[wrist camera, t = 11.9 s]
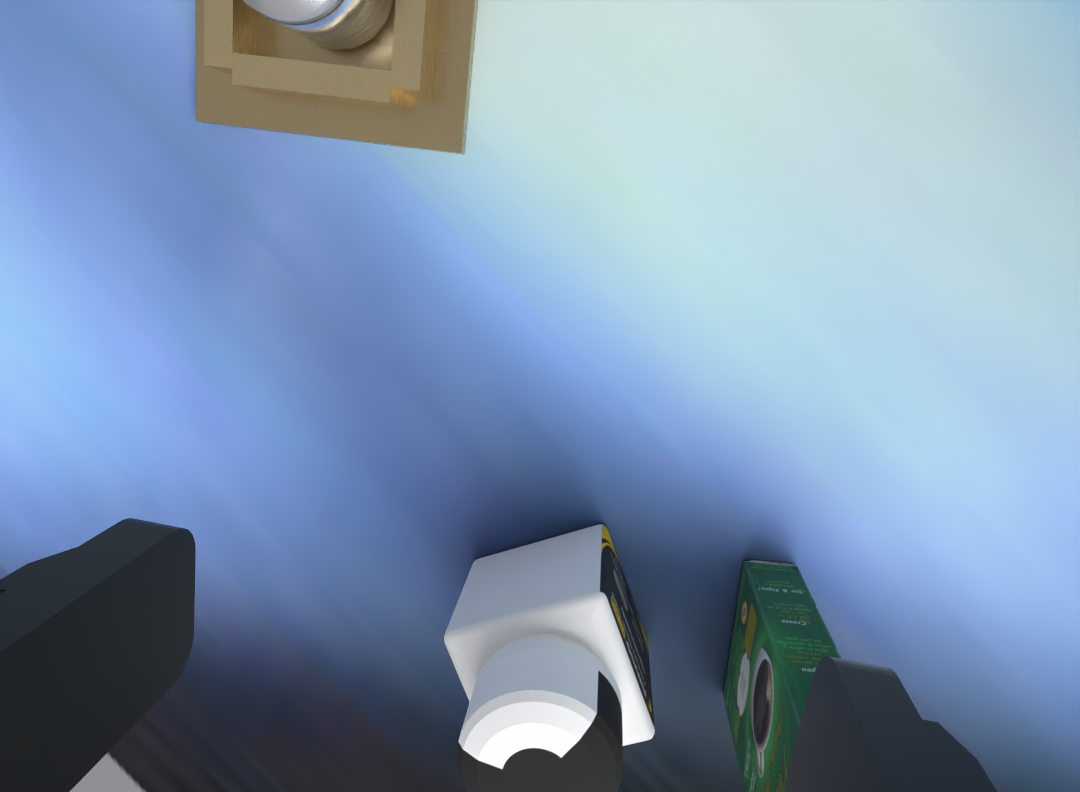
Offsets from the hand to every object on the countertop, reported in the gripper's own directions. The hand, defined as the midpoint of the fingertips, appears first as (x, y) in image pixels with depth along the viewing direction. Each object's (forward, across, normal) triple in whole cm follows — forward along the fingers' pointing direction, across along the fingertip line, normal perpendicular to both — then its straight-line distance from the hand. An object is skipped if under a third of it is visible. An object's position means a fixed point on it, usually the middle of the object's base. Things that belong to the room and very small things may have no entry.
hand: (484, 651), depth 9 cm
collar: (+25, +13, -13) cm, 31 cm away
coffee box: (+26, -11, +14) cm, 31 cm away
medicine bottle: (+26, -1, +14) cm, 29 cm away
